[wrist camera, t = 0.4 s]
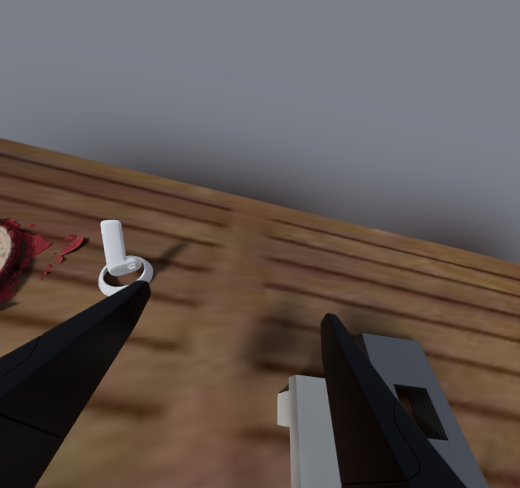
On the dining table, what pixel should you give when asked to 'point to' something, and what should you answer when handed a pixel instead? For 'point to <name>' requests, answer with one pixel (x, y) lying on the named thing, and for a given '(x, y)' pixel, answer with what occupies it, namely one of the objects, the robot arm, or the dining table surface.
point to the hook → (119, 257)
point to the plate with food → (7, 250)
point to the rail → (423, 400)
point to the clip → (309, 433)
